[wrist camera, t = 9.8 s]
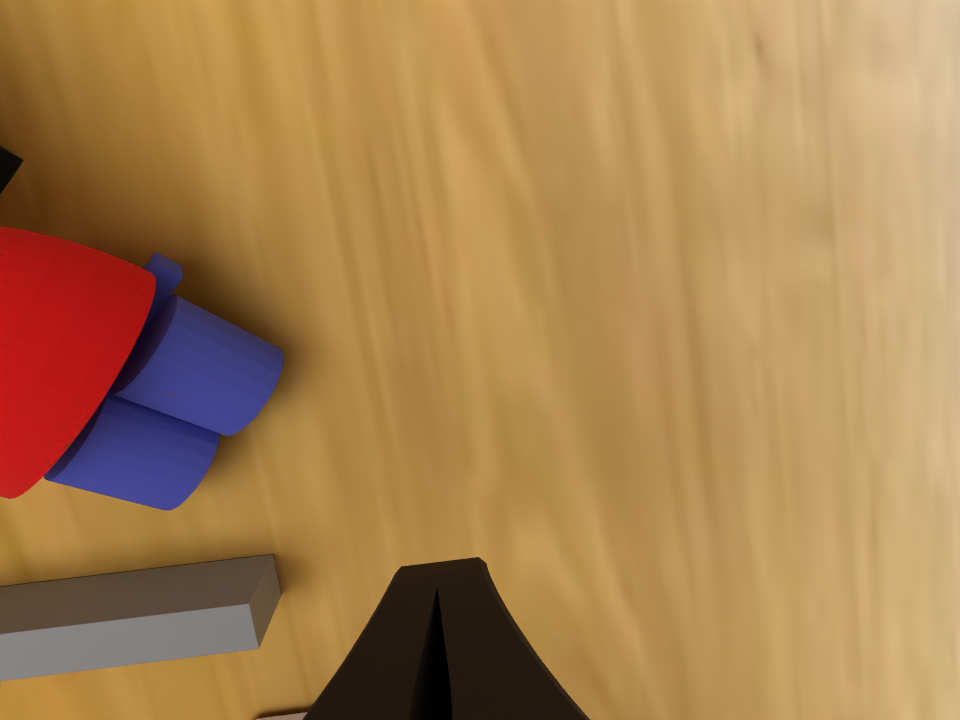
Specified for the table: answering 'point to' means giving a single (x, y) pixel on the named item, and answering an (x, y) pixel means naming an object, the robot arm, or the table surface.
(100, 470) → the toy
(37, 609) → the bay
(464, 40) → the table surface
